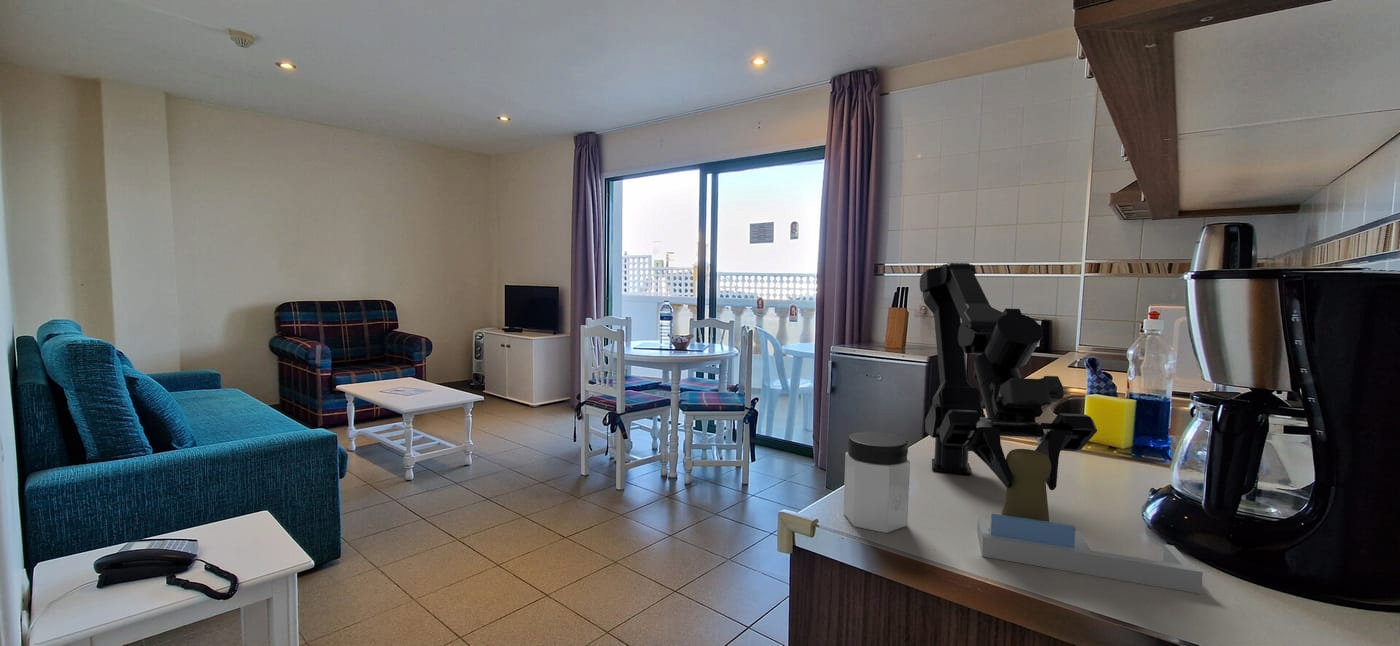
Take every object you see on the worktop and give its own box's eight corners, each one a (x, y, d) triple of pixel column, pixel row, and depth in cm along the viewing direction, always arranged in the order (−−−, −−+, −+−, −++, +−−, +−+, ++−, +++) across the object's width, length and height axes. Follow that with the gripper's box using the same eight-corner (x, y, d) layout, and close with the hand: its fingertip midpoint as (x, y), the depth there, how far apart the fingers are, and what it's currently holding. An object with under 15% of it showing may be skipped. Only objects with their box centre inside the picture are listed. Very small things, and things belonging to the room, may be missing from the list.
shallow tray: (976, 528, 80) (978, 493, 80) (1169, 558, 72) (1172, 519, 72) (982, 556, 72) (984, 517, 72) (1200, 593, 64) (1204, 550, 63)
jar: (877, 538, 77) (880, 450, 76) (832, 517, 84) (834, 436, 83) (918, 523, 82) (922, 441, 81) (872, 504, 88) (875, 428, 88)
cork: (1011, 519, 80) (1016, 441, 79) (1059, 535, 75) (1064, 452, 74) (989, 529, 76) (993, 449, 76) (1038, 547, 72) (1043, 461, 71)
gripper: (949, 352, 79) (973, 454, 69) (1094, 355, 77) (1141, 462, 67) (930, 396, 87) (950, 493, 77) (1061, 401, 85) (1098, 501, 75)
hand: (1031, 487), depth 74 cm, fingers closed on cork, 5 cm apart
